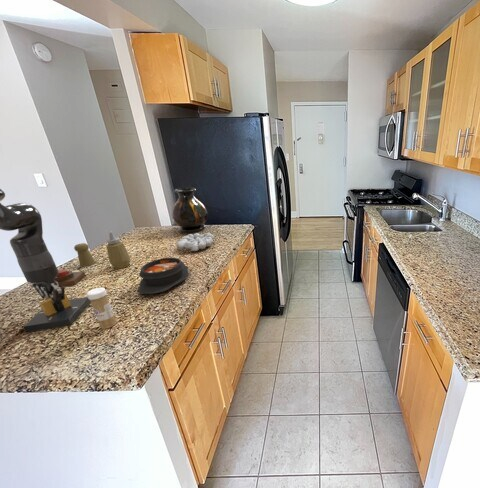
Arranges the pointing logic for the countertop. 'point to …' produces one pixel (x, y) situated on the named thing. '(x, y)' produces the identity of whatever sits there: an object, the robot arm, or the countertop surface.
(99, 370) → the countertop surface
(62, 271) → the button
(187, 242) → the grey lumpy cluster
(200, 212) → the dark glazed vase
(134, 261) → the countertop surface
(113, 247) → the squeeze bottle
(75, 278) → the button block
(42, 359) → the countertop surface
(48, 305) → the yellow cheese wedge
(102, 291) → the sprinkles bottle
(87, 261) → the green pepper mill
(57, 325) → the dark slate board
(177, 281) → the casserole
